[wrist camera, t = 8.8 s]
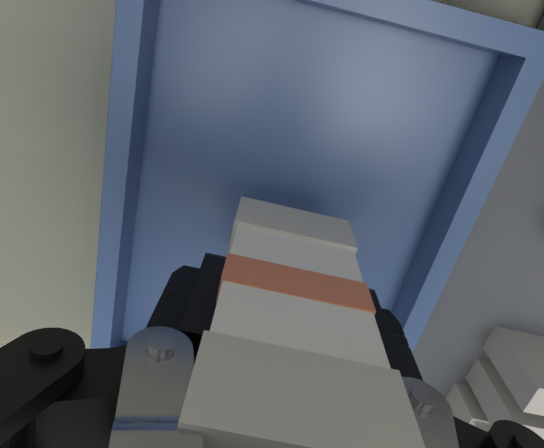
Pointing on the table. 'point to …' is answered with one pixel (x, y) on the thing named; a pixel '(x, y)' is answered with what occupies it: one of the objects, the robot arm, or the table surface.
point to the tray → (304, 137)
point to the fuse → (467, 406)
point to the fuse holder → (498, 293)
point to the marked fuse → (295, 343)
